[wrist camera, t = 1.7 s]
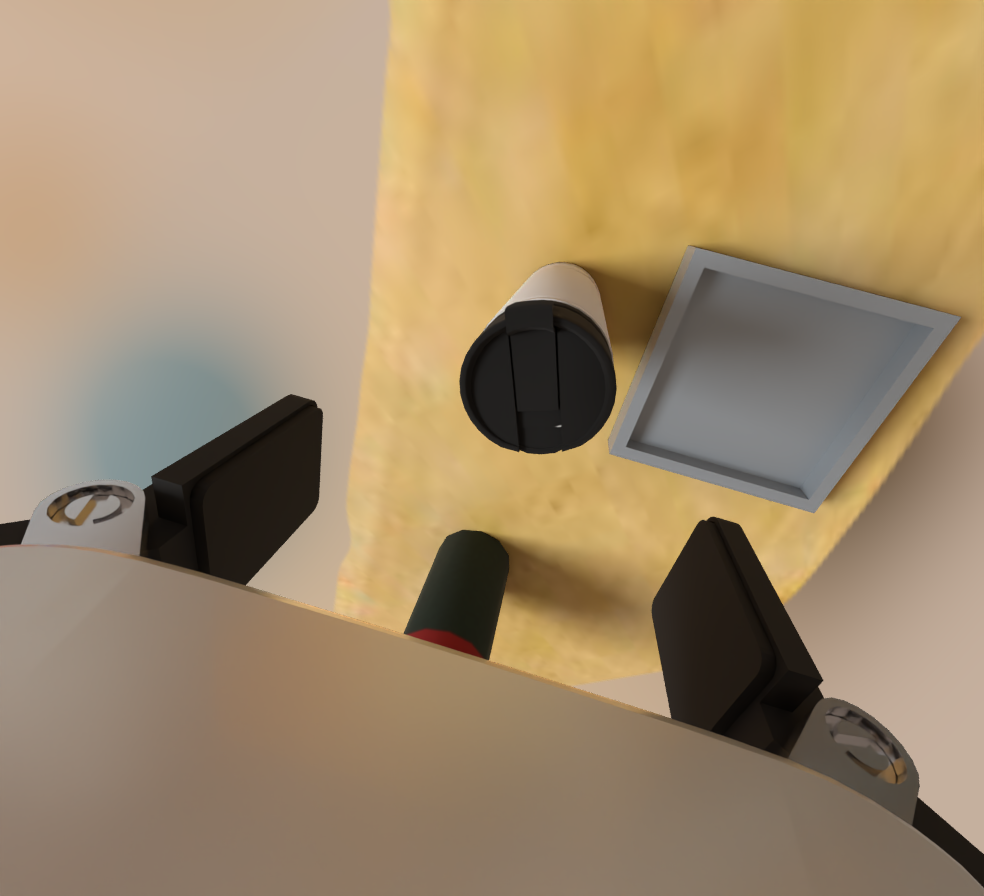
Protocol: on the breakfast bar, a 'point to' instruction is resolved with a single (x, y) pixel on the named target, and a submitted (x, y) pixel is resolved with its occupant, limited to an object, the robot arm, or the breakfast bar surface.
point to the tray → (769, 377)
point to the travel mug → (543, 365)
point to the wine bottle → (462, 594)
